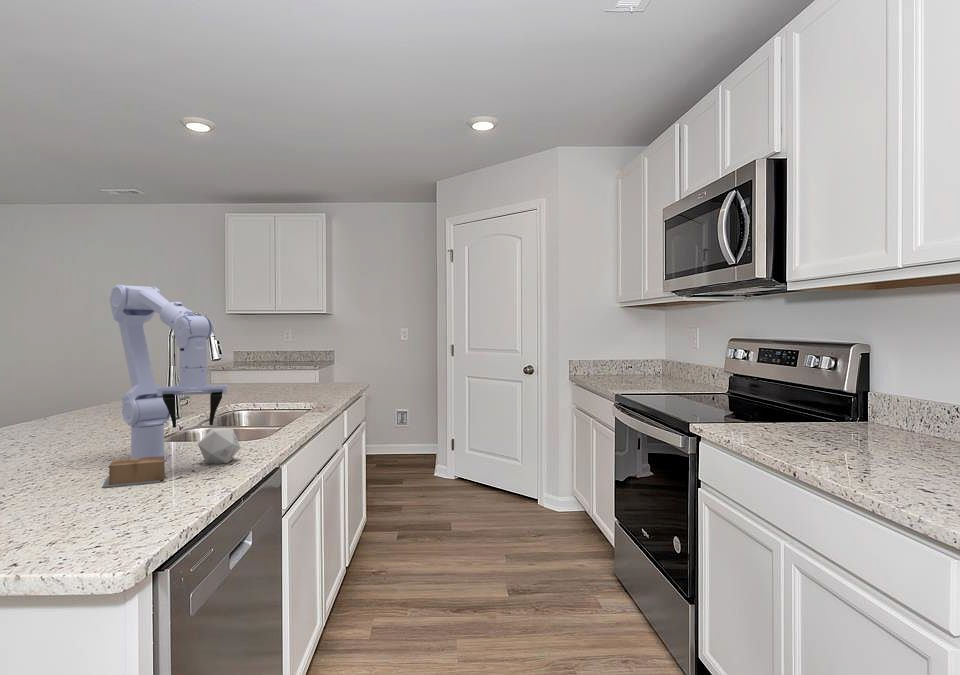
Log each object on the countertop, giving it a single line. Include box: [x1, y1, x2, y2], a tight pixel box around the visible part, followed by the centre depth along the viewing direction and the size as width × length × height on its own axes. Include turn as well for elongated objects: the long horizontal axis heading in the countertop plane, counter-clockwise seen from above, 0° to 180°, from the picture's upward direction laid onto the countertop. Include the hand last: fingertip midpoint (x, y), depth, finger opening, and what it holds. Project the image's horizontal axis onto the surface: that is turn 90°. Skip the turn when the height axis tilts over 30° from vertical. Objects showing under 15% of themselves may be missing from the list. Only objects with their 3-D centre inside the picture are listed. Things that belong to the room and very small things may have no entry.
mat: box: [101, 476, 162, 489], centre depth 128 cm, size 9×11×1 cm
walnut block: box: [108, 456, 165, 485], centre depth 128 cm, size 6×4×10 cm
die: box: [197, 428, 241, 464], centre depth 146 cm, size 8×9×10 cm
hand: (193, 425), depth 137 cm, fingers open, 7 cm apart
